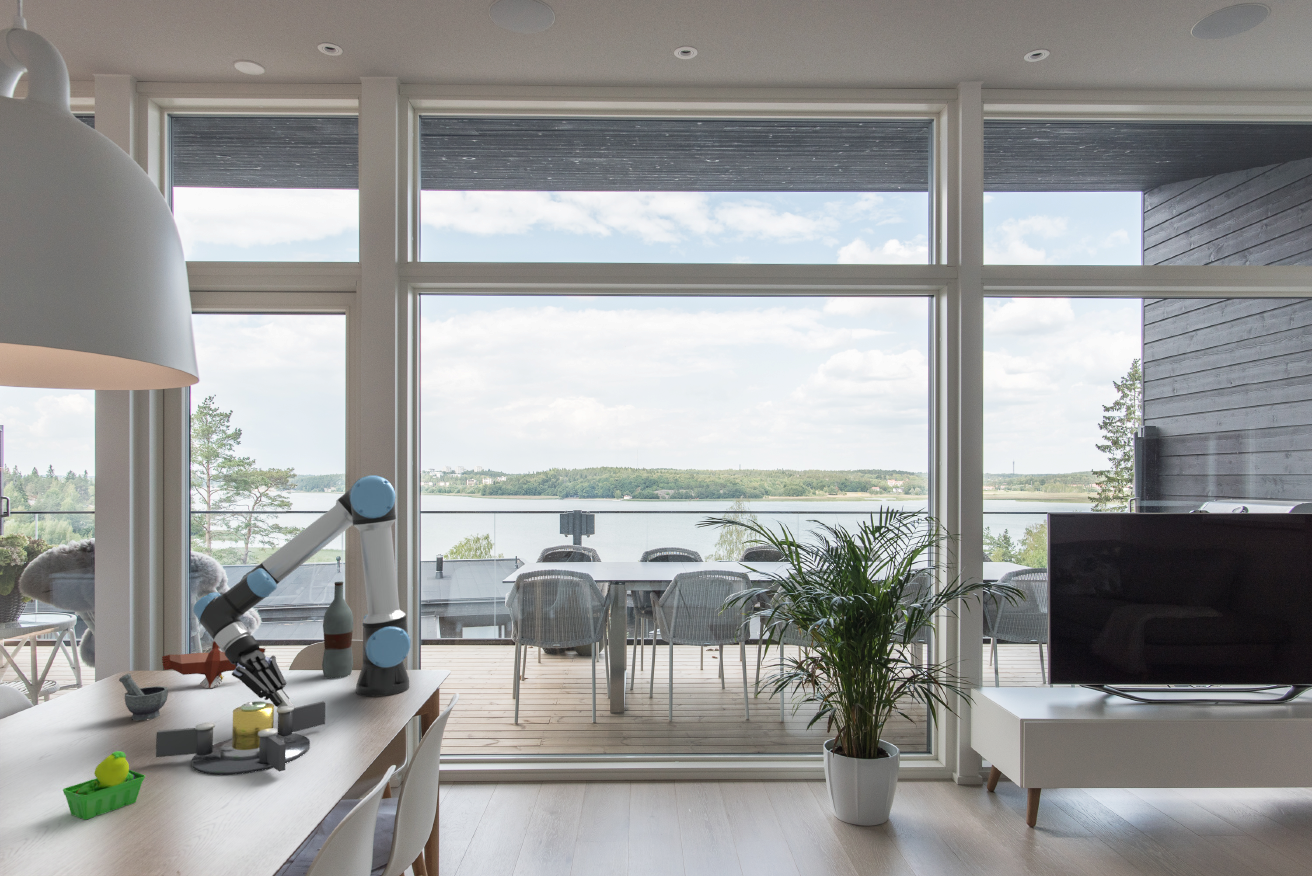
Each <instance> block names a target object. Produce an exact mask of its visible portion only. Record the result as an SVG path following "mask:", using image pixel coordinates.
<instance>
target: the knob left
mask: <svg viewBox="0 0 1312 876" xmlns="http://www.w3.org/2000/svg"><path fill="white" fill-rule="evenodd" d="M277 732H278V728H269V729H264V730H261V731H259V732H258V736H260V741H259V762H261V763H267V762H268V763H269V764H270V765H271V766H273V768H274V769H275V770H277V771H278V772H283V771H286V764H285V755H286V744H285V743H284V742H282V741H281V740H279V739H278V738H277V737H276V734H277Z"/></svg>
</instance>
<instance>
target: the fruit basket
mask: <svg viewBox="0 0 1312 876" xmlns="http://www.w3.org/2000/svg"><path fill="white" fill-rule="evenodd" d="M126 757H127V755H126V753H125V752H124V751H120V750H117V751H114V752H111V754H109V755H108V756H107V757H106V758H104V759H103V760H102V761H101V762H100V763H98V765H97V766H96V767H95V769H94V772H93V774H94V776H95V778H93V779H89V780H87V781H83V782H80V783H77V784H75V785H70V786H68V787H64V788H63V789H62V791H63V795H64V796H65V799H66V802H67V804H68V805H67V806H68V808H69V812H70V815H71V816H75V817H76V818H79V819H83V820H84V821H85V820H90V819H92V818H95V817H97V816H101V815H103V814H106V813H109V812H111V811H115V810H118V809H121V808H123V807H126V806H129V805H132V804H134V803H136V802H137V799H138V796H139V794H140V790H141V787H142V784H143V782H144V780H145V778H146V774H142V773H139V772H136V771H134V770H130V765H129V762H128V761H127V759H126Z"/></svg>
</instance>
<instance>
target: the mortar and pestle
mask: <svg viewBox="0 0 1312 876" xmlns="http://www.w3.org/2000/svg"><path fill="white" fill-rule="evenodd" d="M118 681H119V682H120V683H121V684H122V686H123V687H124V688H125V690H126V692H125V693H124V702H125V706H126V708H127V710H128V711H129V712H130V713H132V717H131V719H133V720H138V721H137V722H140V721H139V720H144V721H148V720H147V719H150V720H155V719H156V718H159V717H160V710H161V709H162V707H164V706H165V704H166V702H167V700H168V695H169V688H168V687H167V686H148V687H139V686H138V684H137V683H136V682H135V680H133V678H132V674H130V673H126V674H124V675H122V676H121V677H120V678H119V679H118ZM133 720H132V721H133Z"/></svg>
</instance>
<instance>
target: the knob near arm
mask: <svg viewBox="0 0 1312 876" xmlns="http://www.w3.org/2000/svg"><path fill="white" fill-rule="evenodd" d="M294 707H295V708H294ZM276 713H277V732H278V735H281V736H289V735H291V734H292V733H295V732H299V731H302V730H303V731H304V730H306V729H307V730H308V729H311V728H316V727H319V726H323V725H326V701H324V700H323V701H318V702H314V703H310V704H305V705H300V706H297V707H296V706H283V707H279V708H278V707H276Z"/></svg>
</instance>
